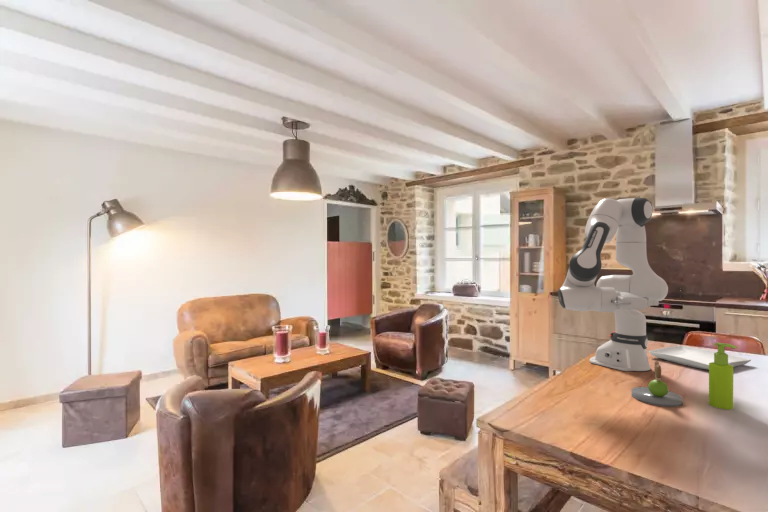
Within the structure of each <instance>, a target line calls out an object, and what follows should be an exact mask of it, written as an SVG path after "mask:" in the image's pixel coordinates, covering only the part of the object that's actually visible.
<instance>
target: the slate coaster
mask: <svg viewBox="0 0 768 512" xmlns="http://www.w3.org/2000/svg"><path fill="white" fill-rule="evenodd" d="M630 395H631V396H632V398H634V399H635V400H637V401H639V402H642V403H646V404H649V405H653V406H658V407H668V408H674V407H675V408H676V407H681V406H682V405H683V397H682V396H681V395H680V394H678V393H676V392H673V391H671V390H668V393H667V394H666V395H665V396H663V397H657V396H655V395H653V394H652V393H651V392H650V391H649V389H648V386H636V387H633V388H631V393H630Z"/></svg>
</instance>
